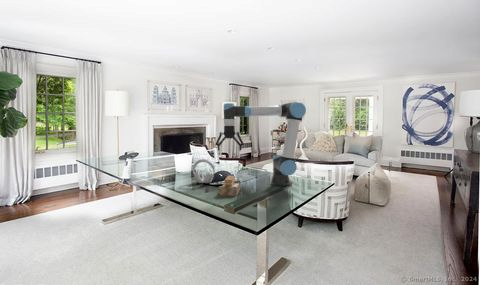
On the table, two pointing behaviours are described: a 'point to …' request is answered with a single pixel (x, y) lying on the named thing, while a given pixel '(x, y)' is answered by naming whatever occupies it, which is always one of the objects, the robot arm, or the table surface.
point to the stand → (230, 189)
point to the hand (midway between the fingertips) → (229, 155)
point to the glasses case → (230, 181)
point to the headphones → (199, 175)
